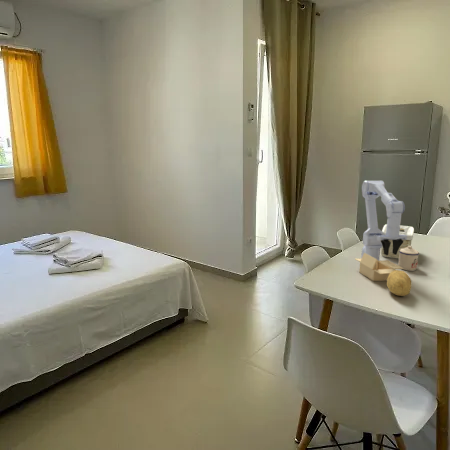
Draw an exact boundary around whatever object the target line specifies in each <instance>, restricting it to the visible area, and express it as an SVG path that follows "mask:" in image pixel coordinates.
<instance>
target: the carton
mask: <svg viewBox="0 0 450 450" xmlns="http://www.w3.org/2000/svg"><path fill="white" fill-rule="evenodd" d="M354 259H355V261H357V262H359V270H358V271H359V272H358V273H360V274H361V275H363V276H364V277H366V278H367V279H369V280H371V281H372V282H376V281H377V282H380V281H381V282H382V281H387V278H388V276H389V274H390V273H391V272H392V271H395V270H403V268H402V267H400V266H398V264H397V263H395V262H392V261H391V260H388V259H386V260H385V259H384V260H383V259H382V260H379V261H378V260H377V262H376V264H375V266H374V268H373V269H371V268H369V267H368V266H366V265H364V264H362V263H361V262H360V261H361V259H362V258H361V257H360V258H354Z"/></svg>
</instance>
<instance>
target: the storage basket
mask: <svg viewBox="0 0 450 450" xmlns="http://www.w3.org/2000/svg"><path fill="white" fill-rule="evenodd" d="M386 228H387V223H386V224H384V225H383V227H382V229H381V231H382V232H383V235H386ZM400 231H404V232H402V233H401V232H399V235H407V240H405V239H402V240H403V243H402V245H401V246H400V247H399V249H398V252H397V254H396V255H395V254H393V253H392V250H393V241H392V240H389V242H391V244H390V247H389V253H388V255H385V254H384V249H383V246H382V248H380V254H381V255H380V256H381V257H385V258H392V259H397V260H399V253H400V252H399V251H400V249H404V248H408V246H412V241H413V238H414V233H415V228H414V227H413V226H410V225H409V226H408V225H401V224H400Z"/></svg>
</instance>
